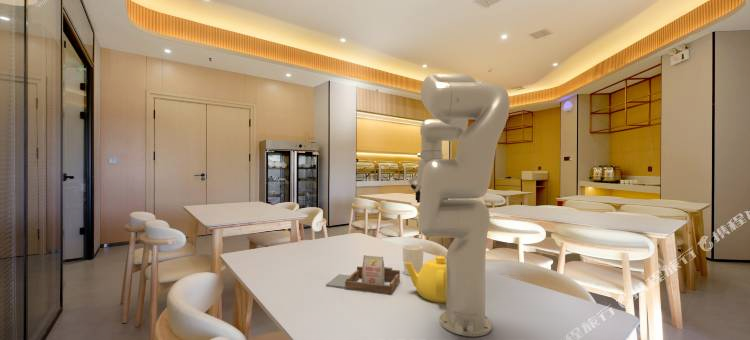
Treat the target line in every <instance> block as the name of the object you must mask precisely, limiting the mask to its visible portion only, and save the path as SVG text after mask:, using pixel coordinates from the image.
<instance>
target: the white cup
mask: <svg viewBox="0 0 750 340" xmlns="http://www.w3.org/2000/svg"><path fill="white" fill-rule="evenodd" d="M402 258H403V259H402V261H403V269H404V270H403V273H404V274H405V275H408V276H410V275H409V272H408V270H407V267H406V263H411V264H412V266H413V268H414V269H415V271H416V273H418V274H419V272H420V270H421V268H422V267H423V265H424V246H423V245H420V244H405V245H403V246H402Z"/></svg>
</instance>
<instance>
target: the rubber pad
mask: <svg viewBox="0 0 750 340" xmlns="http://www.w3.org/2000/svg"><path fill="white" fill-rule="evenodd" d="M351 275H352V274H340V273H339V274H338V275H336V276H335V277H333V278H332V279H331V280H330V281H329V282H327V283H325V287H329V288H330V287H331V288H338V289H345V281H346V279H347V278H348V277H349V276H351Z"/></svg>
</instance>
